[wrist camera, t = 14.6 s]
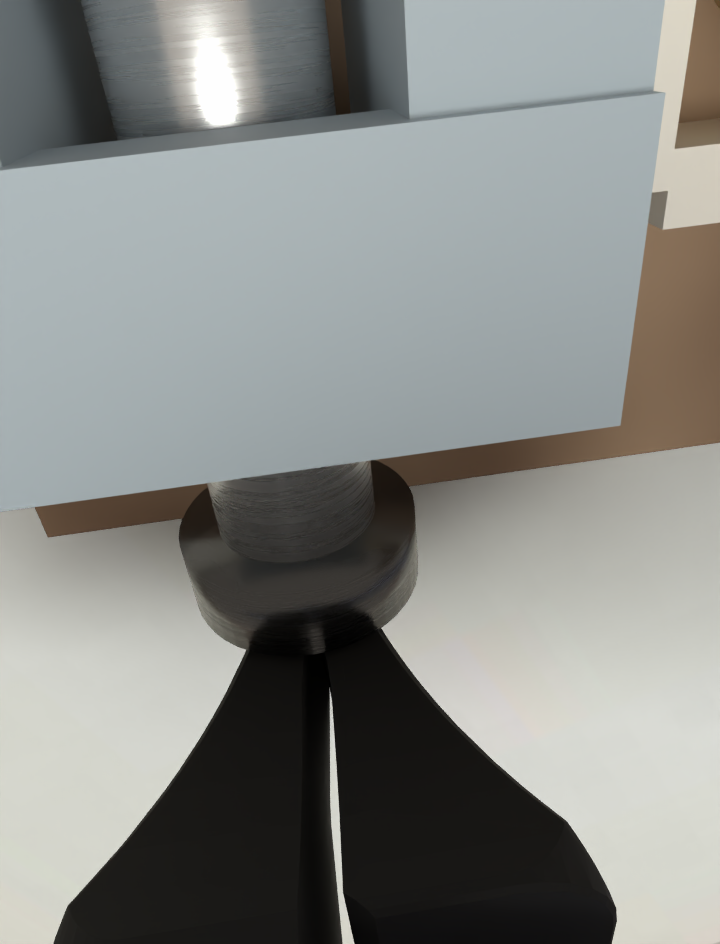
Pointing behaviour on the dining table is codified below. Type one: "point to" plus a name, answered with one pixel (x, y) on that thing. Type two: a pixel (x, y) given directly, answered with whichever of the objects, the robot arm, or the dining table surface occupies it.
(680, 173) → the collar
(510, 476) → the dining table surface
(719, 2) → the cylinder
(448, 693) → the dining table surface
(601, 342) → the block
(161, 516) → the walnut board
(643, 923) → the dining table surface
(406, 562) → the shaft
